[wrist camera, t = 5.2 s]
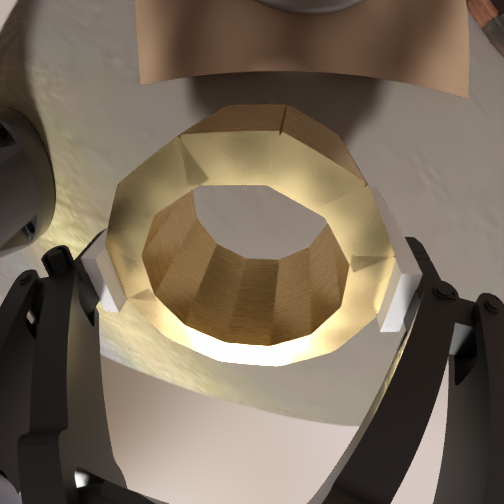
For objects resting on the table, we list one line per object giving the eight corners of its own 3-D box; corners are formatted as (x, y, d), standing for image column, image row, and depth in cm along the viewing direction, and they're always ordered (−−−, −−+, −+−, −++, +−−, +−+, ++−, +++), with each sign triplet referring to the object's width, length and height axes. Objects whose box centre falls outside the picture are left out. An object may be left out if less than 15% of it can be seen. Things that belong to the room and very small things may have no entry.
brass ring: (184, 274, 18) (150, 350, 13) (153, 113, 13) (77, 150, 8) (346, 282, 17) (357, 367, 12) (368, 109, 11) (418, 142, 6)
